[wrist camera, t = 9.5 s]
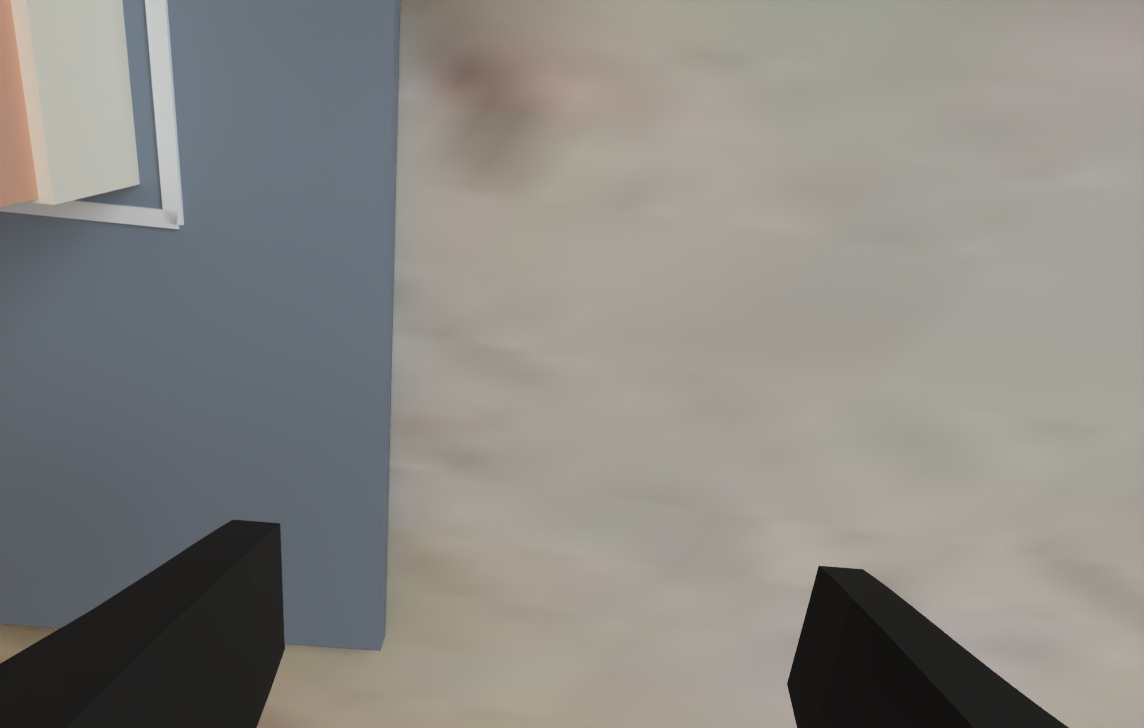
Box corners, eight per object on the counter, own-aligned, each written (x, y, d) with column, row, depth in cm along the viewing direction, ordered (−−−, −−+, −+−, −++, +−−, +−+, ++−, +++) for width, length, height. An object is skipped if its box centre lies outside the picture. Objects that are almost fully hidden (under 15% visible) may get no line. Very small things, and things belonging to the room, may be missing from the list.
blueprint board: (384, 635, 22) (353, 737, 18) (-192, 595, 21) (-337, 693, 17) (404, -175, 15) (359, -252, 11) (-464, -291, 14) (-795, -413, 10)
